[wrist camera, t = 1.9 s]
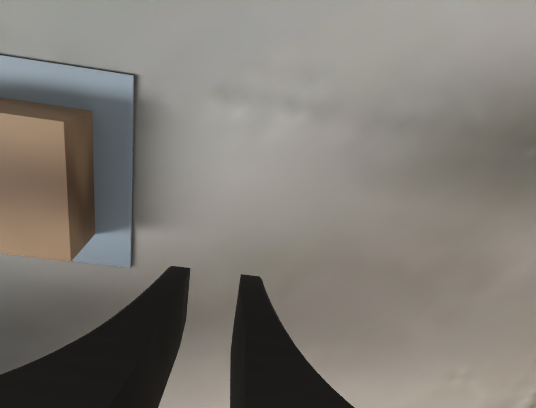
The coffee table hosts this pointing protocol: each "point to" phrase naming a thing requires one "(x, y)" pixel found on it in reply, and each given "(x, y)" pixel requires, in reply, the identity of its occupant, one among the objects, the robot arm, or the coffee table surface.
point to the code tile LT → (104, 141)
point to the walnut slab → (45, 180)
